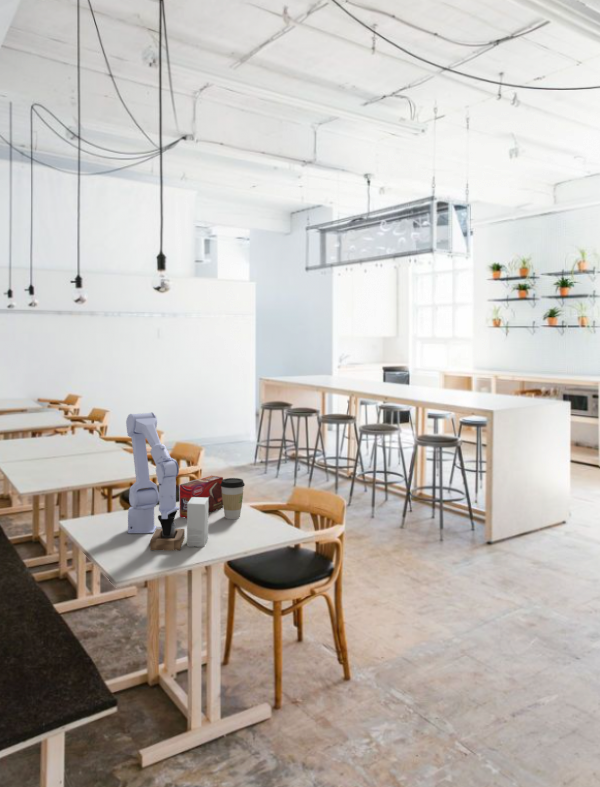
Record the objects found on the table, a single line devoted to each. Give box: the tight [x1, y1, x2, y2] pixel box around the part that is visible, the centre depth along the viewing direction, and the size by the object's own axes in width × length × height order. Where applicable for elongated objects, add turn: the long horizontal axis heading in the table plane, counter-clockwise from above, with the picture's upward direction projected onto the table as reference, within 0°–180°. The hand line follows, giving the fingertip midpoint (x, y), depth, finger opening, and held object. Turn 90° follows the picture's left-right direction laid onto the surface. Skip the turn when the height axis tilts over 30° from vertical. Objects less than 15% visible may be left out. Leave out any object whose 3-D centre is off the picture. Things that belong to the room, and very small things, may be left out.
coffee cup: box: [220, 477, 246, 520], centre depth 256 cm, size 10×10×15 cm
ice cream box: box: [178, 474, 224, 519], centre depth 263 cm, size 20×6×13 cm, turn 148°
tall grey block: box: [162, 522, 177, 539], centre depth 223 cm, size 4×4×6 cm
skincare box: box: [186, 497, 209, 548], centre depth 224 cm, size 8×7×16 cm
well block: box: [149, 528, 186, 551], centre depth 223 cm, size 10×13×4 cm
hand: (167, 533), depth 223 cm, fingers closed on tall grey block, 4 cm apart
